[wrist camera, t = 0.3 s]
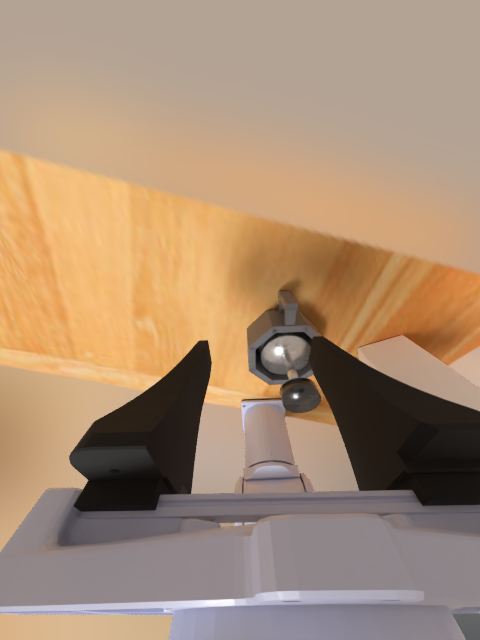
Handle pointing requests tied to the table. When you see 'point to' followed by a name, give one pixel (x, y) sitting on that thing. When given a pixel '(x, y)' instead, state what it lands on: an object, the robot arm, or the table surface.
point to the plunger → (291, 370)
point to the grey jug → (275, 324)
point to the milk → (419, 370)
